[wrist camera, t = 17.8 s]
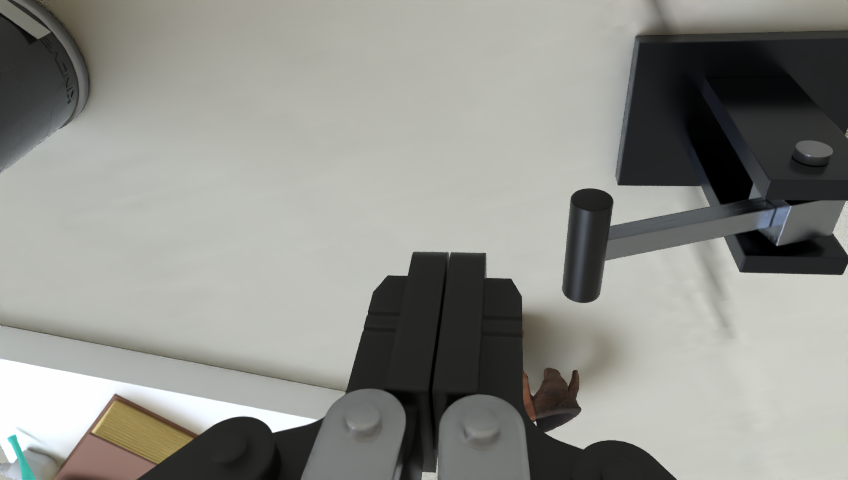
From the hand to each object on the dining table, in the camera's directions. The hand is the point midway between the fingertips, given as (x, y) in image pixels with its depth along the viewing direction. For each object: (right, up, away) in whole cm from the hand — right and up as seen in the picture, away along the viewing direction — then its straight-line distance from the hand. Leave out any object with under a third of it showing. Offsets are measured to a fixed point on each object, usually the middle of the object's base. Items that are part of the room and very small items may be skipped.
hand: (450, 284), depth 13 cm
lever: (+11, +2, +15) cm, 19 cm away
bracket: (+17, +8, +23) cm, 30 cm away
